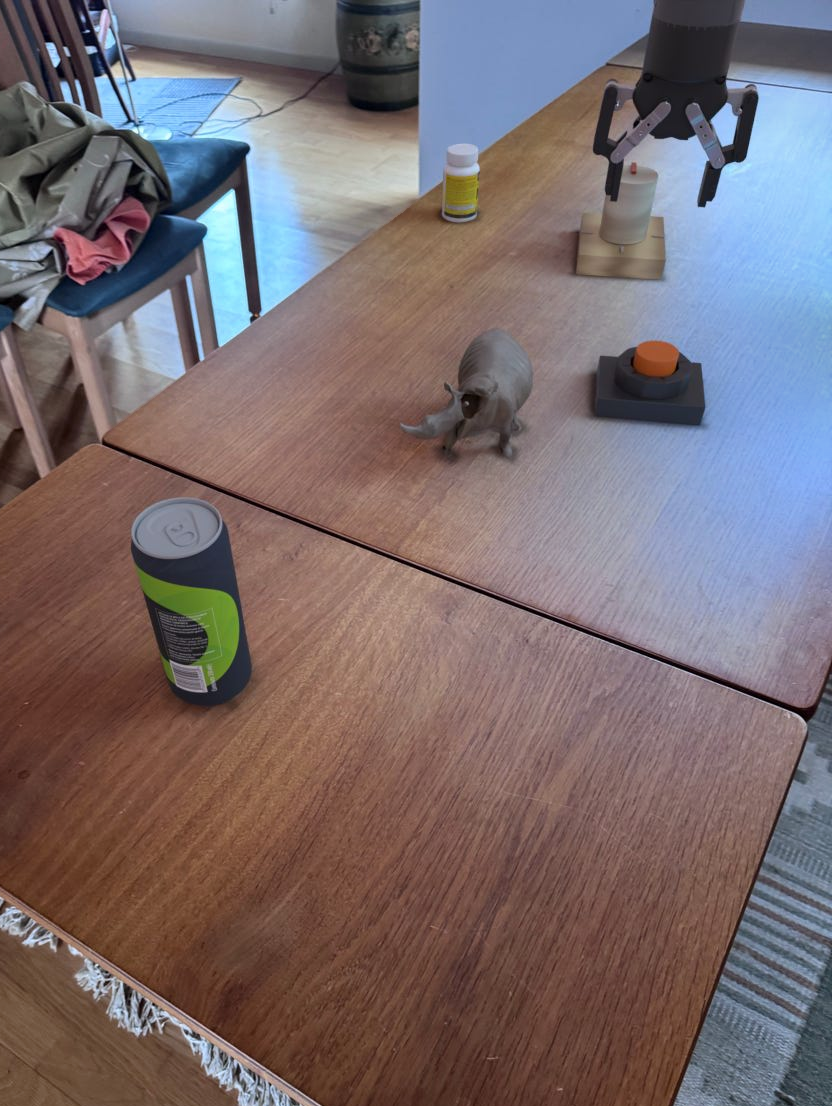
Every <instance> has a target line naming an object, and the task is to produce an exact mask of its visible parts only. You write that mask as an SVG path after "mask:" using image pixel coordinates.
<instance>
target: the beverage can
mask: <svg viewBox="0 0 832 1106" xmlns="http://www.w3.org/2000/svg"><path fill="white" fill-rule="evenodd" d="M130 536H131V542H130V553H131V554H132V559H133V562H134V566H135V570H136V574H137V577H138V580H139V584H140V587H141V592H142V595H143V598H144V602H145V605H146V608H147V612H148V615H149V619H150V623H151V627H152V630H153V633H154V638H155V641H156V644H157V648H158V650H159V651H158V652H159V654H160V657H161V661H162V664H163V668H164V672H165V676H166V679H167V682H168V686H169V688H170V690H171V691H172V693H173V694H174V696H176V697H177V698H179V699H180V700H181V701H183V702H185V703H188V704H191V705H195V706H200V707H213V706H215V707H216V706H219V705H222V704H225V703H227V702H229V701H231V700H232V699H234V698H235V697H236V696H238V695H239V694H240V693H241V692H243V690H245V688H246V687H247V685H248V684H249V682H250V680H251V677H252V672H253V667H252V666H253V665H252V659H251V653H250V649H249V643H248V637H247V630H246V627H245V626H246V624H245V618H244V613H243V609H242V602H241V596H240V591H239V590H240V589H239V586H238V579H237V574H236V567H235V563H234V562H235V561H234V557H233V549H232V546H231V545H232V544H231V540H230V539H231V538H230V533H229V529H228V526H227V524H226V522H225V521H224V520H223V518H222V515H221V513H220V511H219V510H218V509H217V507H215V506H214V505H213V504H211V503H210V502H208V501H206V500H203V499H200V498H196V497H188V496H186V497H185V496H184V497H183V496H180V497H172V498H171V497H170V498H167V499H163V500H160V501H158V502H155V503H153V504H151V505H149V506H148V507H146V508H145V509H143V510H142V511H141V512H140V513H139V514H138V515H137V516H136V517H135V519H134V520H133V523H132V525H131V529H130Z"/></svg>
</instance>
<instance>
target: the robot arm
mask: <svg viewBox="0 0 832 1106" xmlns="http://www.w3.org/2000/svg"><path fill="white" fill-rule="evenodd" d="M745 4H746V0H653V7H652V13H651V20H650V24H649V31H648V36H647V41H646V47H645V52H644V59H643V63H642V69H641V74H640V77H639V79H638V80H637V81H636V83H635V84H629V83H627V84H626V83H619V81H618V80H617V79H616V78H609V79H608V80H607V81H606V83H605V85H604V89H603V94H602V99H601V104H600V109H599V114H598V119H597V123H596V127H595V132H594V137H593V143H592V144H593V145H592V153H593V154H594V155H595V156H602V157H604V158H606V159H607V161H608V165H607V172H606V177H605V182H604V183H605V184H604V193H605V195H611V196H610V202H617V199H618V193H619V188H620V182H621V176H622V171H623V166H625V157H626V156H628V154H629V153H630V152H631V151H632V150H633V149H634V148H635V147H637V146H639V145H640V144H641V142H642V141H643V140H644V139H645V138H646V137H647V136H648V135H650V136H652V137H653V139H654V140H665V139H670V138H673V139H675V140H678V141H689V139H691V138H694V137H695V136H696V137H697V139H698V141H699V143H700V145H701V147H702V149H703V151H704V152H705V154H706V156H707V158H708V160H706V161H705V166H704V171H703V174H702V178H701V182H700V186H699V190H698V195H697V200H696V202H697V205H696V207H697V208H706V206H707V202H709V203H711V202H713V201H714V199H715V197H716V194H717V191H718V187H719V183H720V180H721V179H720V178H721V175H722V171H723V169H724V167H726V166H727V165H729V164H732V163H737V164H739V163H743V162H744V161H745V160H746V159H747V157H748V153H749V147H750V143H751V142H750V141H751V137H752V132H753V128H754V123H755V118H756V114H757V109H758V104H759V99H760V97H759V92H758V91H759V90H758V87H757V85H756V84H754V83H749V84H747V85H745V87H740V88H737V87H736V88H728V86H727V78H728V75H729V70H730V65H731V61H732V57H733V53H734V49H735V46H736V41H737V37H738V32H739V28H740V24H741V20H742V17H743V16H742V15H743V11H744V7H745ZM628 100H632V103H633V105H634V107H635V110H636V112H637V116H636V117H635V118H633V120H632V121H631V122H630V123H629V124H628V126H627V127H626V129H625V130H624V131H623V132H622V133H621V134H620V136H619V137H618V138H617V139H616V140H614V139H612V138H610V137H609V134H610V130H611V126H612V120H613V116H614V112H619V111H621V110H622V109H623V107H624V106H625V103H626V102H627V101H628ZM726 104H729V105H730V106H731V112H732V114H733V116H734V117H737V120H736V125H735V129H734V134H733V139H732V143H730V144H727V145H722V142H721V140H720V138H719V136H718V133H717V131H716V129H715V127H714V124H713V122H712V120H713V118H715V116H716V115H717V114H718V113H719V112H721V110H722V109H723V108H724V107H725V105H726Z"/></svg>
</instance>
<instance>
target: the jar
mask: <svg viewBox="0 0 832 1106" xmlns="http://www.w3.org/2000/svg"><path fill="white" fill-rule="evenodd" d="M658 181H659V173H658V172H657V171H656V170H655V169H654V168H651V167H648V166H643V165H637V162H631V164H627V165H625V164H624V165H623V171H622V176H621V182H620V188H619V193H618V199H617V202H610V196H611V195H606V194H605V195H604V201H603V208H602V213H601V214H602V219H601V225H600V231H599V235H600V237H601V238H602V239H604V240H606V241H608V242H611V243H615V244H622V245H629V244H636V243H639V242H641V241H643V240H644V239H645V238H646V235H647V230H648V225H649V220H650V216H652V210H653V205H654V200H655V196H656V190H657V185H658Z"/></svg>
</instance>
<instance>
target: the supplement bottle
mask: <svg viewBox="0 0 832 1106" xmlns="http://www.w3.org/2000/svg"><path fill="white" fill-rule="evenodd" d="M478 159H479V148H478V146H476V145H475V144H471V143H456V144H455V143H454V144H452V145H450V146H448V147H447V149H446V158H445V160H446V163H445V164H444V165H443V168H442V193H441V216H442V218H443V219H444V220H446V221H448V222H450V223H457V224H458V223H466V222H471V221H473V220H474V219H476V218H477V216H478V203H479V190H480V189H479V188H480V176H481V175H480V174H481V167H480V165H479V163H478Z"/></svg>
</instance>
